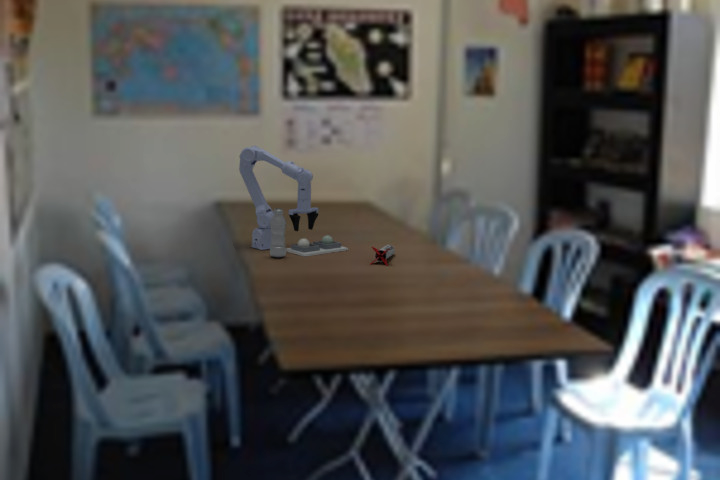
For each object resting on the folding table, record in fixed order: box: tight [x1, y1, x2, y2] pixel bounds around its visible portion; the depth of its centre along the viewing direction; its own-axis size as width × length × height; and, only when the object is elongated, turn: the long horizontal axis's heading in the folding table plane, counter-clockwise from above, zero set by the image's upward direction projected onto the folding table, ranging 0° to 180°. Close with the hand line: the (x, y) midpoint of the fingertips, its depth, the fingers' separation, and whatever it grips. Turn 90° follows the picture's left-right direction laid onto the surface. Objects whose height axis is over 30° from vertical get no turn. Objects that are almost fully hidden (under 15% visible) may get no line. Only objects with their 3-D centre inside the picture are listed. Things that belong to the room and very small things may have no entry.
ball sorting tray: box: [286, 240, 349, 258], centre depth 369 cm, size 24×14×3 cm, turn 132°
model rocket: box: [369, 244, 396, 267], centre depth 356 cm, size 11×23×10 cm
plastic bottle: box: [269, 208, 287, 259], centre depth 352 cm, size 6×7×20 cm
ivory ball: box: [297, 237, 310, 247], centre depth 364 cm, size 5×5×5 cm
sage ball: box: [321, 235, 334, 244], centre depth 373 cm, size 5×5×5 cm
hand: (303, 230), depth 368 cm, fingers open, 7 cm apart
